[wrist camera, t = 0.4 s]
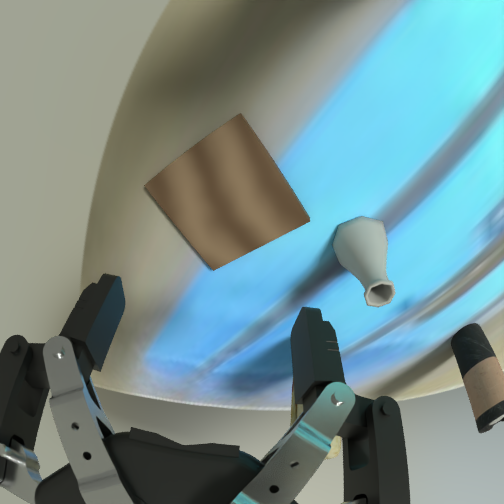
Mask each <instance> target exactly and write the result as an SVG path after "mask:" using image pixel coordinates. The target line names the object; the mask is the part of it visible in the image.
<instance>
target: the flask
mask: <svg viewBox="0 0 504 504" xmlns="http://www.w3.org/2000/svg"><path fill="white" fill-rule="evenodd" d="M332 246H333V248H334V251H335V253H336V256H337V258H338V261H339V263H340V264H341V265H342V266H343V267H345V268H346V269H347V270H348V271H349V272H351V273H352V274H353V275H354V276H355V277H356V278H357V279H358V280H359V281H360V282H361V284H362V285H363V287H364V289H365V292H364V297H365V300H366V303H367V305H368V306H374V307H380V306H383V305H386V304H388V303H390V302H391V300H392V298H393V297H394V295H395V289H394V284H393V282H392V281H389V280H388V277H387V273H386V260H387V248H388V239H387V236H386V232H385V228H384V225H383V221H379V220H375V219H371V218H367V217H363V216H360V217H357V218H355V219H352V220H350V221H347V222H345V223H342V224H339V226H338V229H337V232H336V235H335V238H334V241H333V244H332Z"/></svg>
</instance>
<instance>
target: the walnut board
mask: <svg viewBox="0 0 504 504" xmlns="http://www.w3.org/2000/svg"><path fill="white" fill-rule="evenodd" d="M144 186H145V187H146V189H147V190H148V191H149V192H150V194H151V195H152V196H153V197H154V199H155V200H156V201H157V203H158V204H159V205H160V206H161V208H162V209H163V210H164V211H165V213H166V214H167V215H168V216H169V218H170V219H171V220H172V221H173V223H174V224H175V225H176V226H177V228H178V229H179V230H180V231H181V232H182V234H183V235H184V236H185V237H186V239H187V240H188V241H189V242H190V243H191V245H192V246H193V247H194V248H195V249H196V251H197V252H198V253H199V254H200V255H201V257H202V258H203V259H204V260H205V261H206V263H207V264H208V265H209V266H210V267H211V269H212V270H213V271H214V270H216V269H218V268H220V267H222V266H224V265H226V264H228V263H230V262H231V261H233V260H235V259H237V258H239V257H241V256H243V255H245V254H247V253H249V252H251V251H253V250H255V249H257V248H259V247H261V246H263V245H265V244H267V243H269V242H271V241H273V240H275V239H277V238H279V237H281V236H282V235H284V234H286V233H288V232H290V231H292V230H294V229H296V228H298V227H300V226H302V225H304V224H306V223H308V222H310V217H309V216H308V214H307V212H306V211H305V209H304V207H303V206H302V204H301V202H300V201H299V199H298V198H297V196H296V194H295V193H294V191H293V190H292V188H291V187H290V185H289V183H288V182H287V180H286V179H285V177H284V176H283V174H282V173H281V171H280V169H279V168H278V166H277V165H276V163H275V162H274V160H273V159H272V157H271V156H270V154H269V153H268V151H267V150H266V148H265V147H264V145H263V144H262V143H261V141H260V140H259V138H258V137H257V135H256V134H255V132H254V131H253V130H252V128H251V127H250V125H249V124H248V122H247V121H246V120H245V118H244V117H243V115H242V114H239V115H237V116H236V117H234V118H232V119H231V120H230V121H228V122H227V123H225V124H224V125H222V126H221V127H219V128H218V129H216V130H215V131H214V132H212V133H211V134H209V135H208V136H206V137H205V138H204V139H202V140H201V141H200V142H198V143H197V144H196V145H194V146H193V147H192V148H190V149H189V150H188V151H186V152H185V153H184V154H182V155H181V156H180V157H178V158H177V159H176V160H175V161H173V162H172V163H171V164H170V165H168V166H167V167H166V168H165V169H163V170H162V171H161V172H160V173H158V174H157V175H156V176H155V177H154V178H152V179H151V180H150V181H149V182H148V183H147V184H145V185H144Z"/></svg>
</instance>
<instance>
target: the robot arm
mask: <svg viewBox="0 0 504 504" xmlns="http://www.w3.org/2000/svg"><path fill="white" fill-rule="evenodd" d="M124 309H125V297H124V292H123V287H122V281H121V278H120V277H119V276H115V275H110V274H103V275H102V276H101V278H100V280H99V282H98V283H97V284H96V283H92V284H90V285H89V286H88V287H87V288H86V289H84V291H83V292H82V294H81V296H80V298H79V301H77V303H76V305H75V308H73V310H72V312H71V314H70V316H69V318H68V320H67V321H66V323H65V325H64V327H63V329H62V331H61V333H60V334H59V336H55V337H53V338H51V339H49V340H48V341H47V342H46V343H44V344H40V343H39V344H38V343H28V342H27V341H26V339H25V338H24V337H23V336H20V335H14V336H11V337H10V338H8V339H7V341H6V342H5V344H4V346H3V348H2V350H1V353H0V486H1V487H3V488H5V489H7V490H8V491H10V492H11V493H13V494H14V495H16V496H18V497H20V498H21V499H23V500H25V501H27V502H28V503H30V504H298V503H297V502H296V501H295V500H294V499H295V497H296V496H297V495H298V493H299V492H300V491H301V490H302V489H303V487H304V486H305V485H306V484H307V482H308V481H309V480H310V478H311V477H312V476H313V474H314V473H315V472H316V470H317V469H318V468H319V466H320V465H321V463H322V462H323V460H324V459H325V458H326V456H327V455H328V453H329V451H330V449H331V442H332V440H333V439H334V437H335V436H340V437H342V440H343V468H344V502H343V503H341V504H410V490H409V476H408V465H407V455H406V447H405V439H404V433H403V426H402V420H401V414H400V408H399V406H398V404H397V402H396V401H395V400H394V399H393V398H391V397H388V396H381V397H379V398H377V399H376V400H371V399H368V398H364V397H361V396H358V395H356V394H354V392H353V390H352V389H351V388H350V387H349V386H348V385H346V382H345V379H344V373H343V368H342V362H341V357H340V352H339V347H338V343H337V337H336V332H335V330H334V328H333V327H332V325H331V324H330V322H329V321H323V319H322V314H321V310H320V309H319V308H310V307H302V309H301V311H300V313H299V315H298V317H297V319H296V321H295V324H294V326H293V328H292V332H291V351H292V365H293V380H294V396H295V404H303V412H302V413H301V414H300V416H299V417H298V418H297V419H296V421H295V422H294V423H293V425H292V426H291V427H290V428H289V429H288V431H287V432H286V433H285V434H284V436H283V437H282V438H281V439H280V440H279V441H278V443H277V444H276V445H275V446H274V447H273V448H272V449H271V450H270V451H269V452H268V453H267V454H266V455H265V456H264V458H263V459H262V460H261V461H259V460H258V459H256V458H255V457H253V456H251V455H250V454H247V453H245V452H243V451H240V450H239V447H240V446H236V445H225V444H216V443H208V444H197V445H181V444H179V443H177V442H174V441H172V440H170V439H168V438H166V437H163V436H161V435H159V434H157V433H153V432H149V431H144V430H141V429H137V428H133V427H131V430H130V432H121V433H116V434H115V433H114V430H113V428H112V426H111V424H110V422H109V420H108V419H107V417H106V415H105V413H104V411H103V409H102V406H101V404H100V402H99V399H98V396H97V393H96V391H95V388H94V385H93V382H92V379H91V377H90V375H91V373H92V370H97V371H100V372H101V369H102V366H103V363H104V360H105V358H106V355H107V352H108V350H109V347H110V345H111V342H112V339H113V337H114V334H115V332H116V329H117V327H118V325H119V322H120V320H121V317H122V315H123V312H124ZM49 389H51V393H52V398H50V400H49V403H50V407H51V411H52V414H53V418H54V421H55V424H56V427H57V430H58V433H59V436H60V439H61V442H62V445H63V447H64V450H65V452H66V455H67V458H68V460H69V462H70V463H68V464H67V465H65V466H64V467H62V468H61V469H59V470H57V471H56V472H54V473H53V474H51V475H50V476H48V477H47V478H45V479H43V480H42V478H41V477H40V474H39V469H40V465H39V463H38V459H37V456H36V455H35V453H34V452H33V451H34V446H35V441H36V437H37V432H38V428H39V424H40V420H41V417H42V413H43V409H44V406H45V402H46V399H47V396H48V392H49Z"/></svg>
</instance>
